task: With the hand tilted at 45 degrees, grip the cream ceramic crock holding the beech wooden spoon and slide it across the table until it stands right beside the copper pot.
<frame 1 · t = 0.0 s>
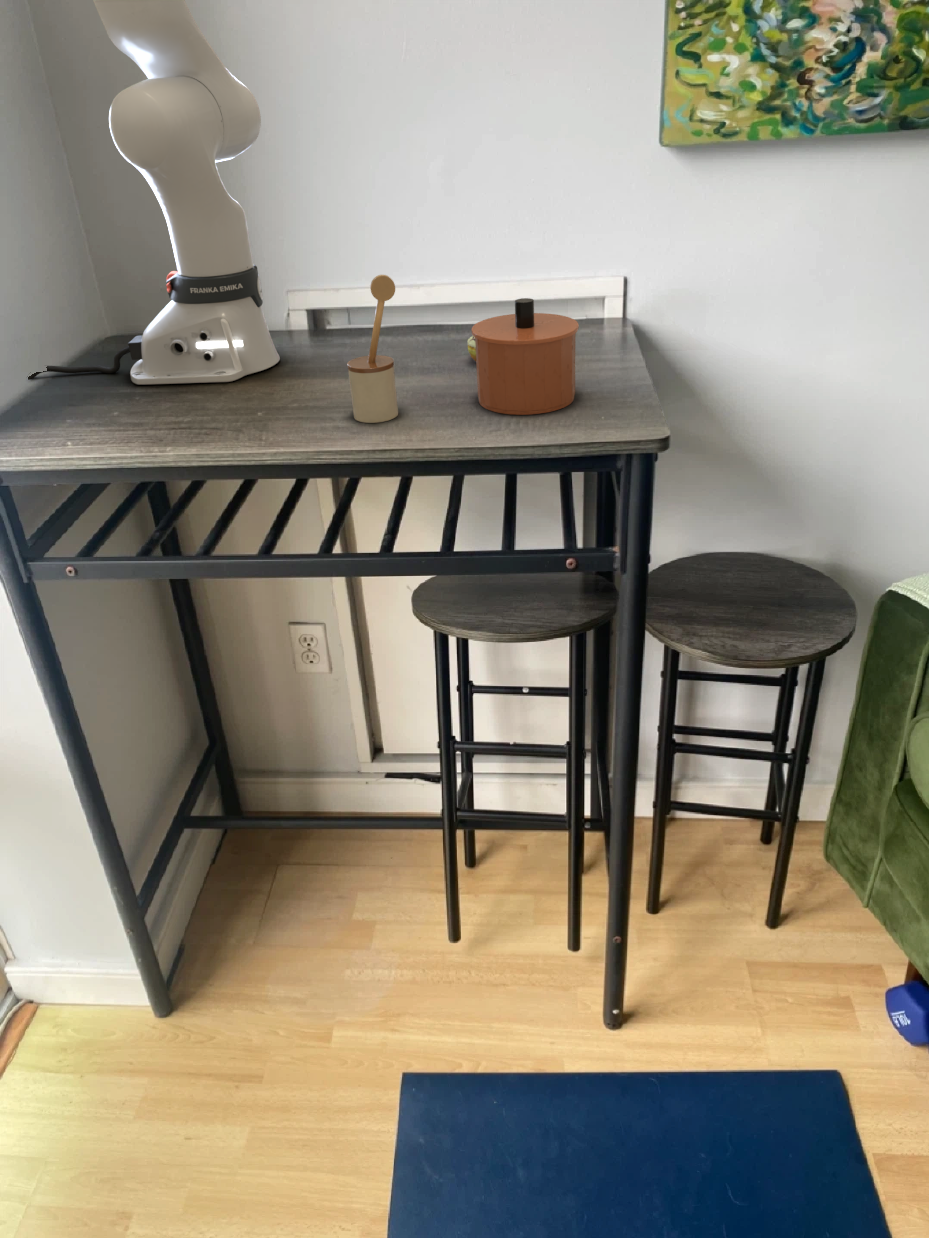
decorated donut: (504, 360, 141), on the table
pot lid: (524, 330, 120), point 9 cm above the table, touching pot
crock: (376, 415, 122), on the table
pot: (526, 398, 125), on the table
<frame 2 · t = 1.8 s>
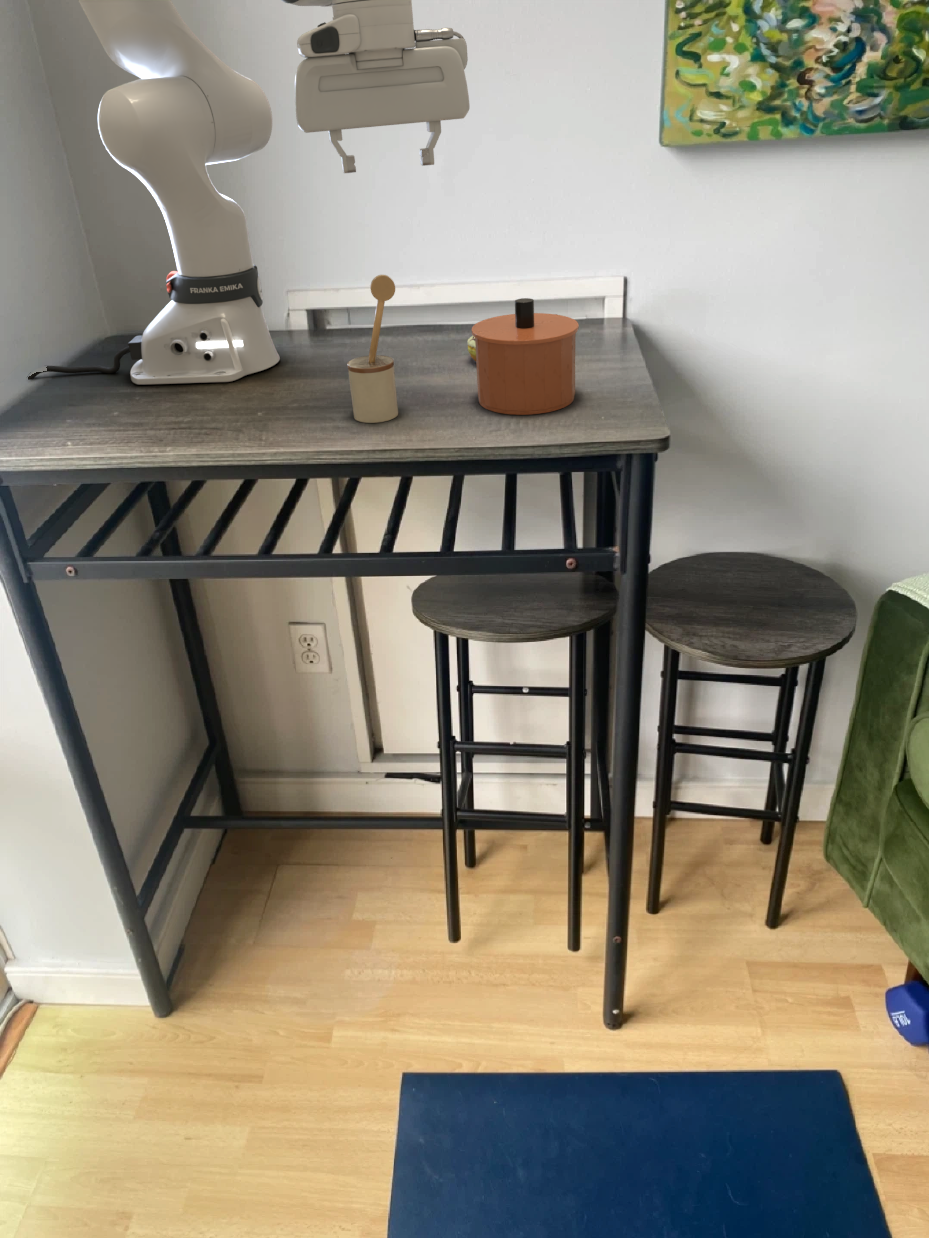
hand: (388, 169, 113), 28 cm above the table, tool pointing down, fingers open, 8 cm apart
nothing on the table moved.
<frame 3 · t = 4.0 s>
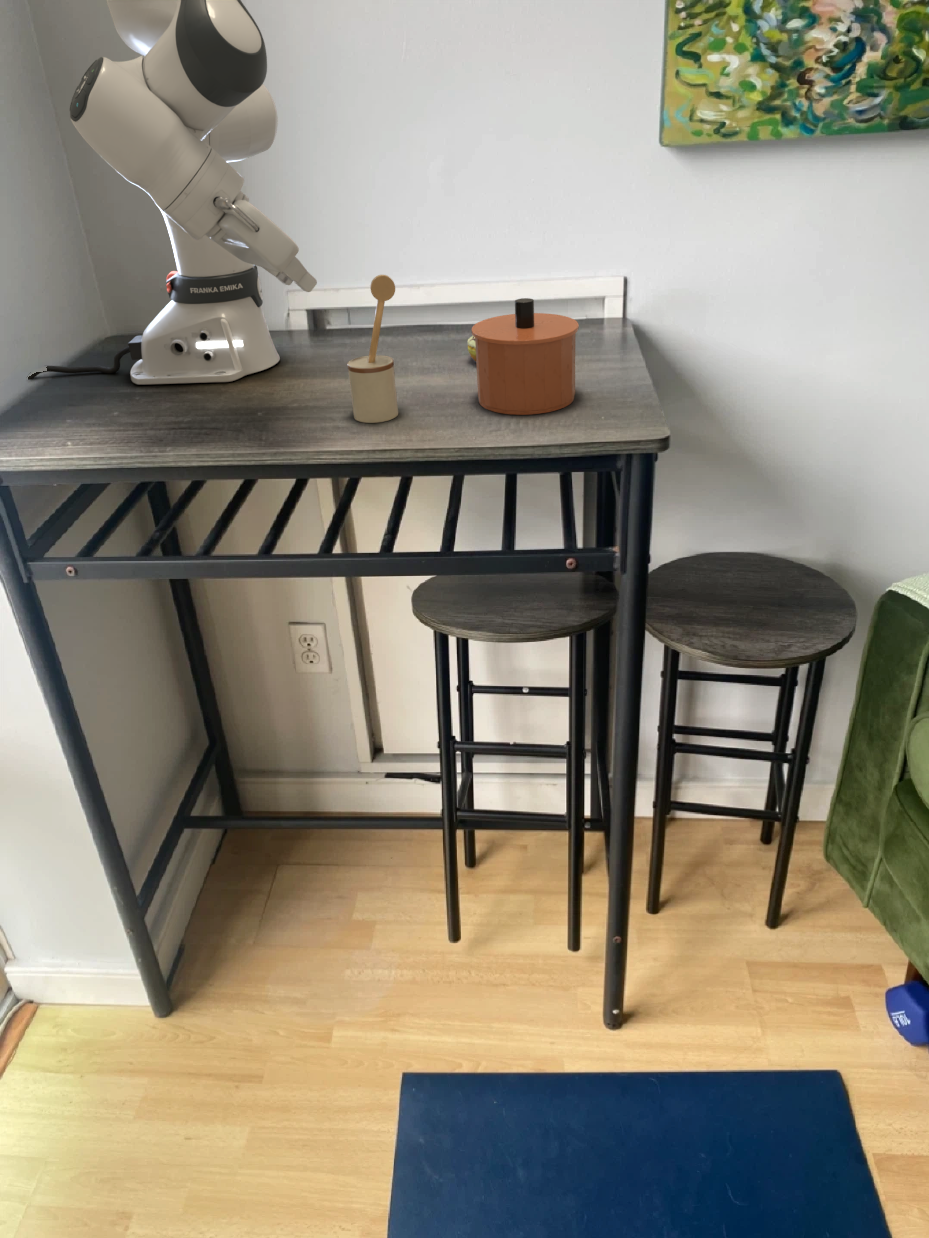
hand: (301, 284, 114), 17 cm above the table, tool tilted 40°, fingers open, 8 cm apart
nothing on the table moved.
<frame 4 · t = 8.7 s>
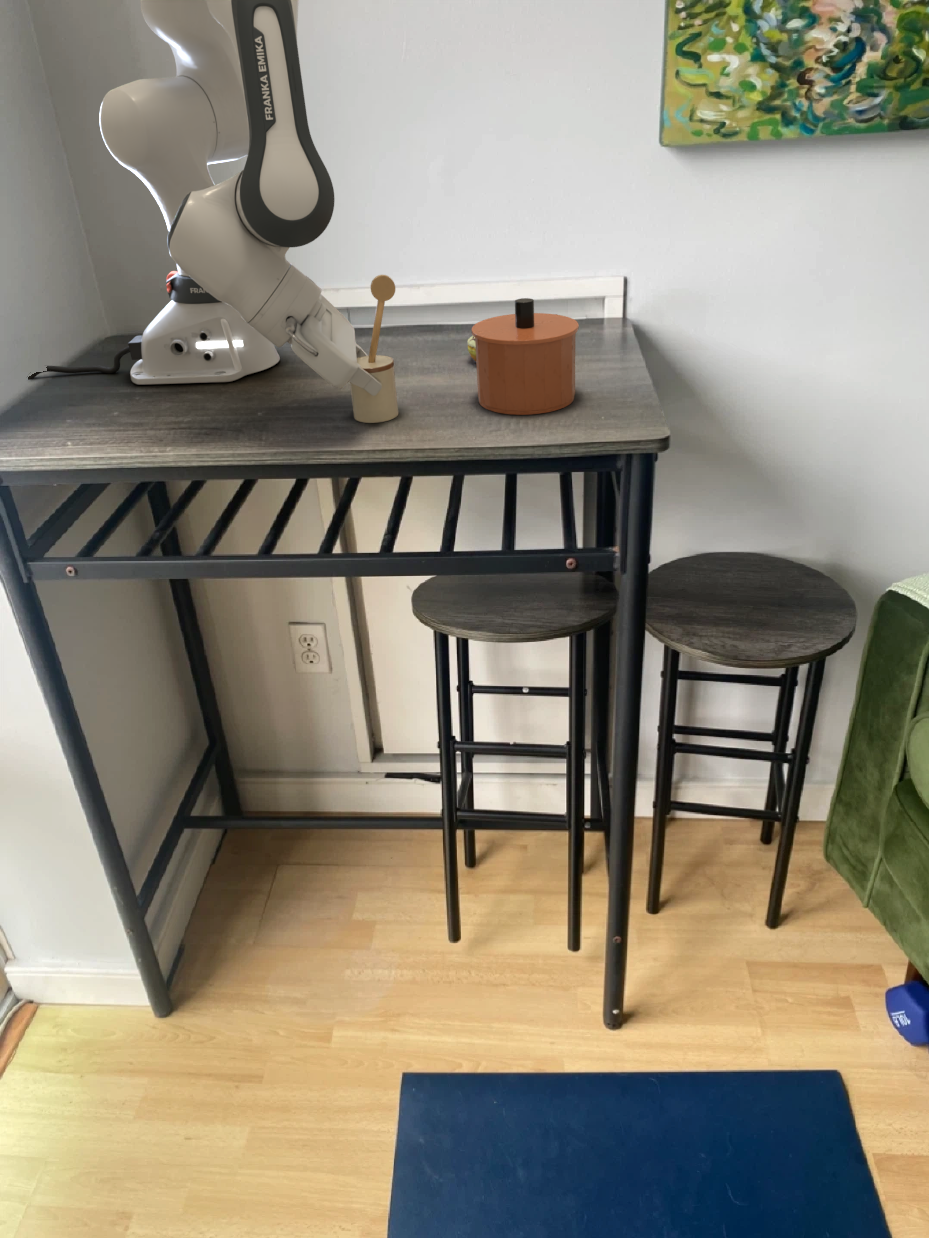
hand: (377, 381, 120), 4 cm above the table, tool tilted 45°, fingers closed on crock, 6 cm apart
crock: (376, 415, 122), on the table, touching gripper
everything else where it was.
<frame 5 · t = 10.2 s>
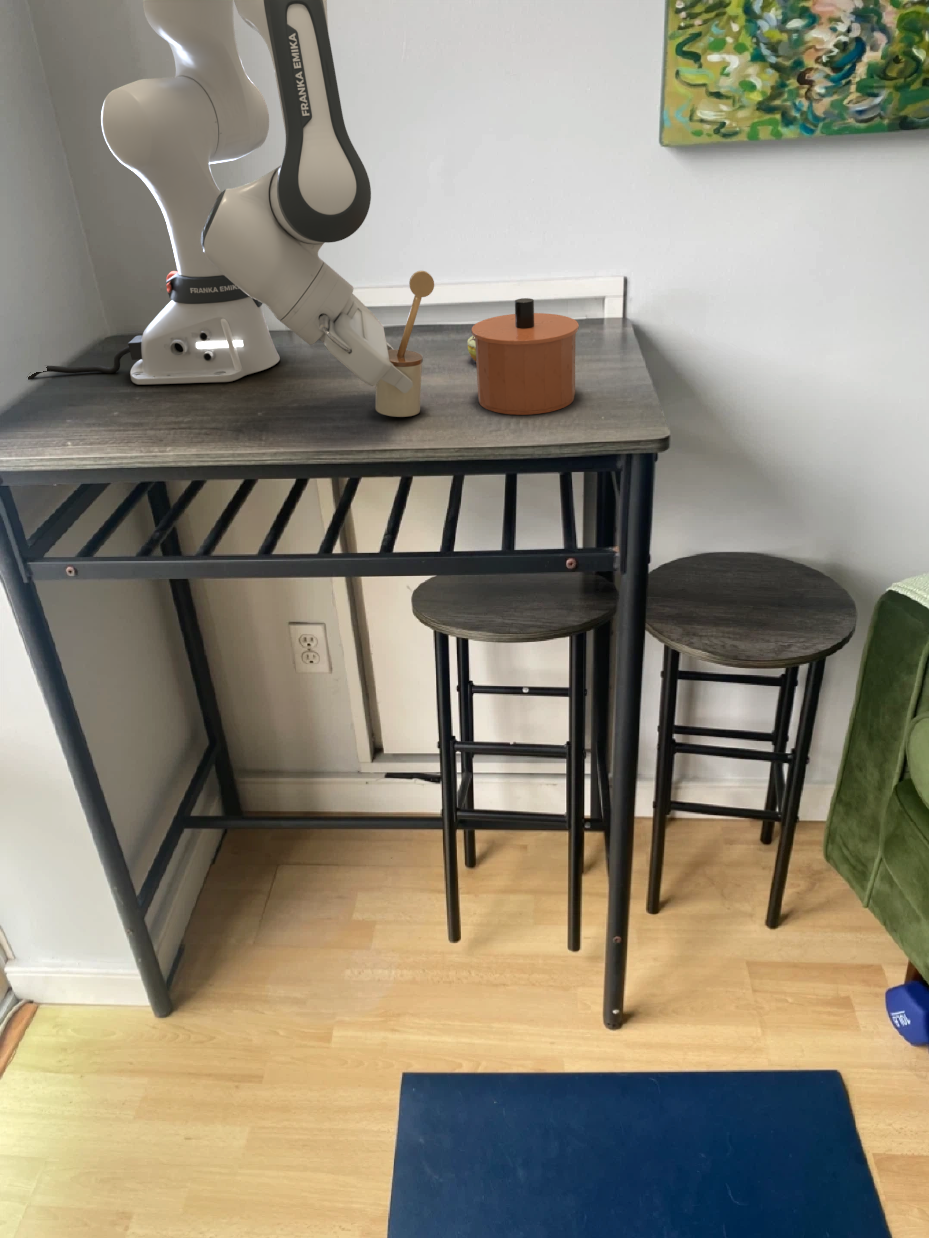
hand: (407, 379, 120), 4 cm above the table, tool tilted 45°, fingers closed on crock, 6 cm apart
crock: (397, 409, 122), point 1 cm above the table, tilted 7°, touching gripper
everything else where it was.
when the fingers open (4 cm above the table, at t = 12.1 s): crock stays where it is, on the table.
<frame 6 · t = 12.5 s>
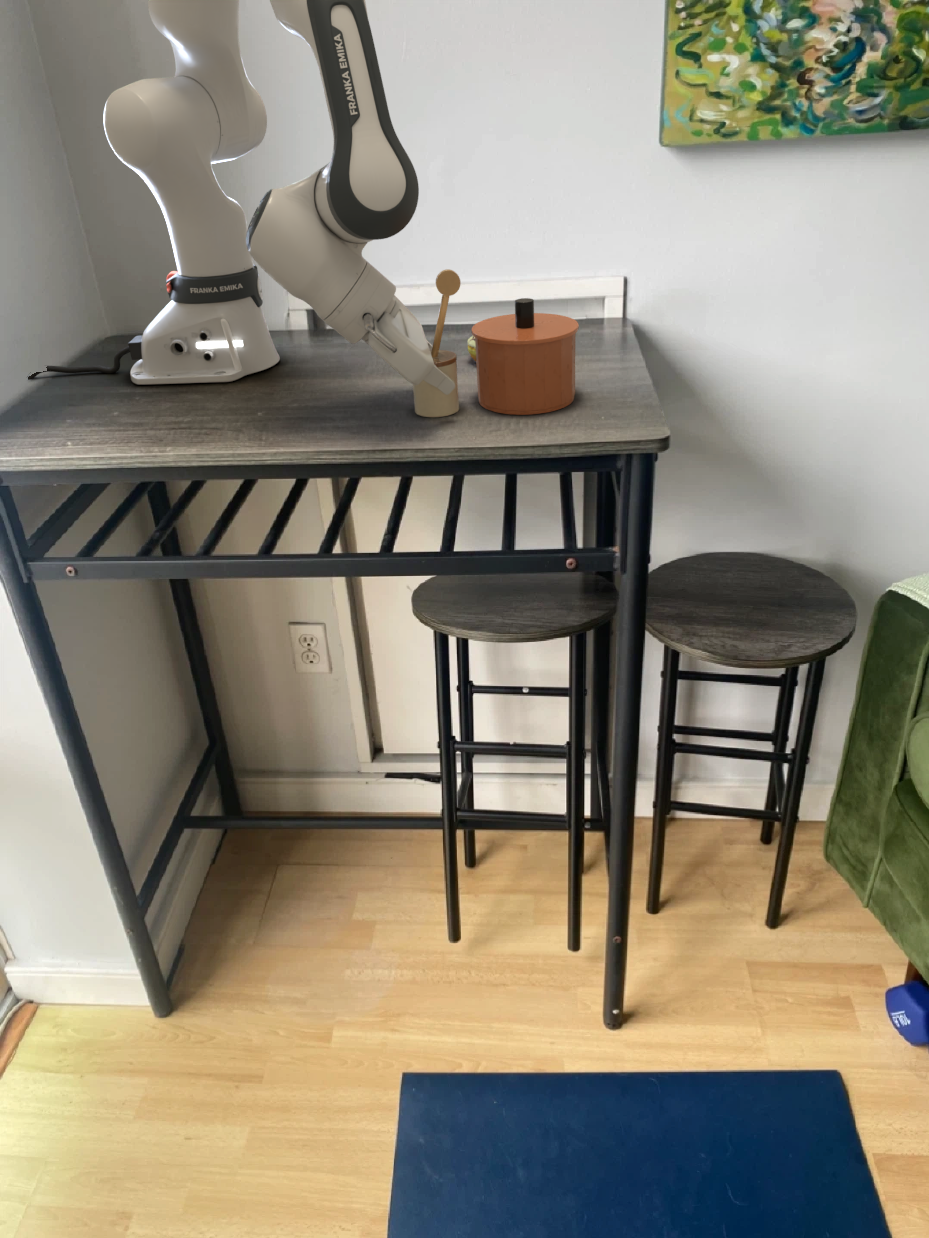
hand: (447, 378, 121), 4 cm above the table, tool tilted 45°, fingers open, 8 cm apart
crock: (437, 409, 123), on the table
everything else where it was.
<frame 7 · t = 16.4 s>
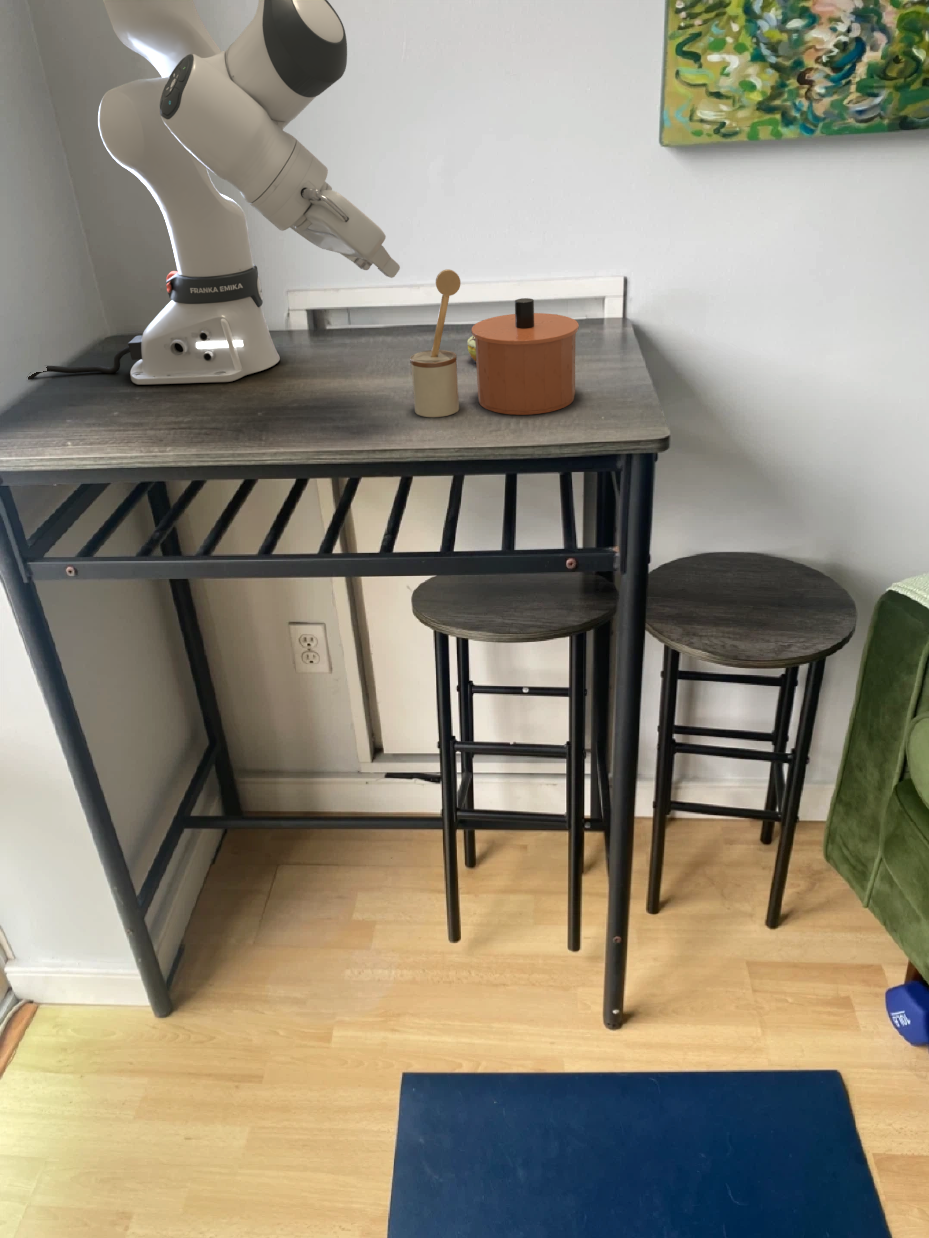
hand: (381, 269, 116), 17 cm above the table, tool tilted 45°, fingers open, 8 cm apart
nothing on the table moved.
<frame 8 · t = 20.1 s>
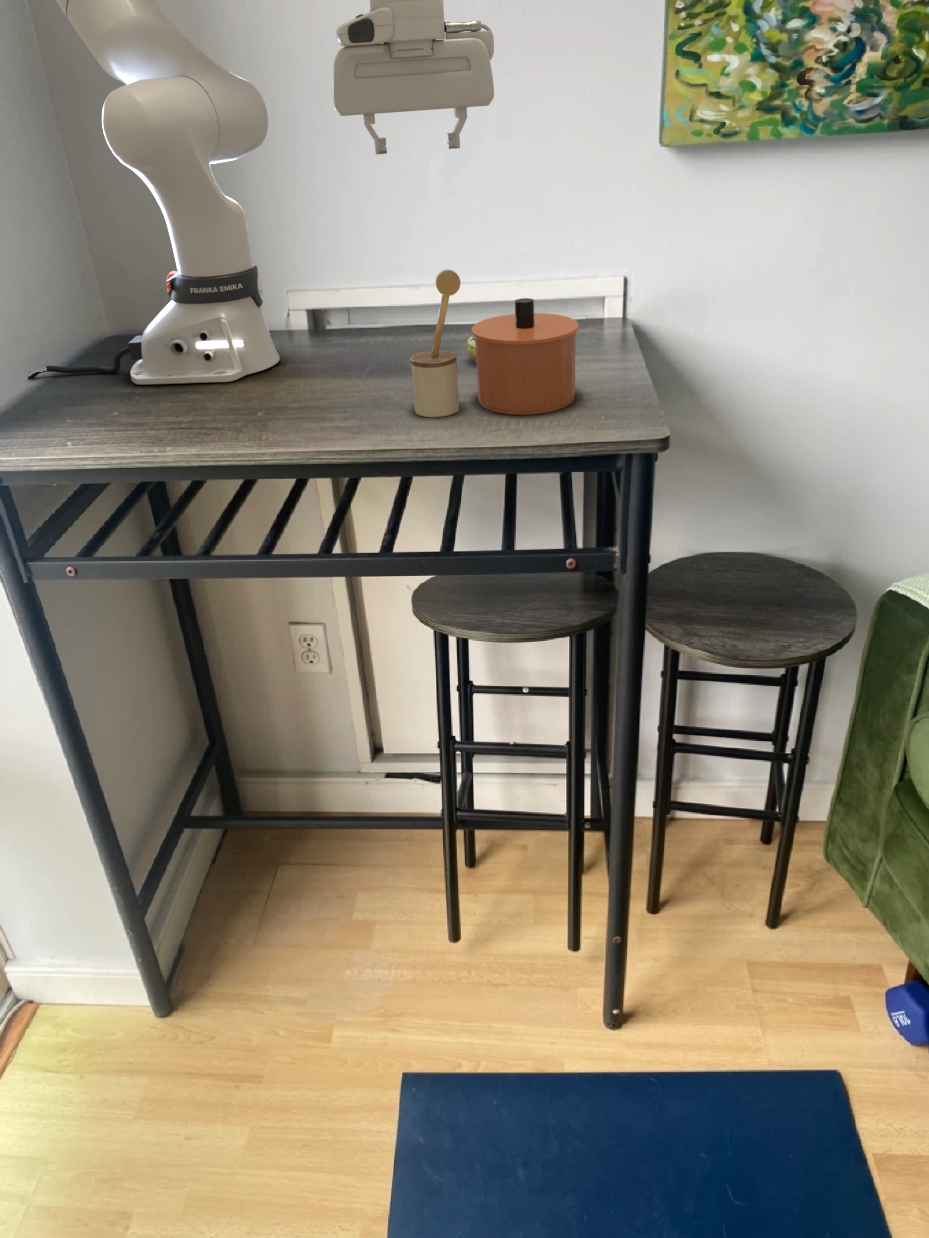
hand: (417, 151, 122), 29 cm above the table, tool pointing down, fingers open, 8 cm apart
nothing on the table moved.
at the end: crock 12.1 cm from the pot (horizontally); crock moved 8.0 cm from its start; crock tilted 0° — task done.
